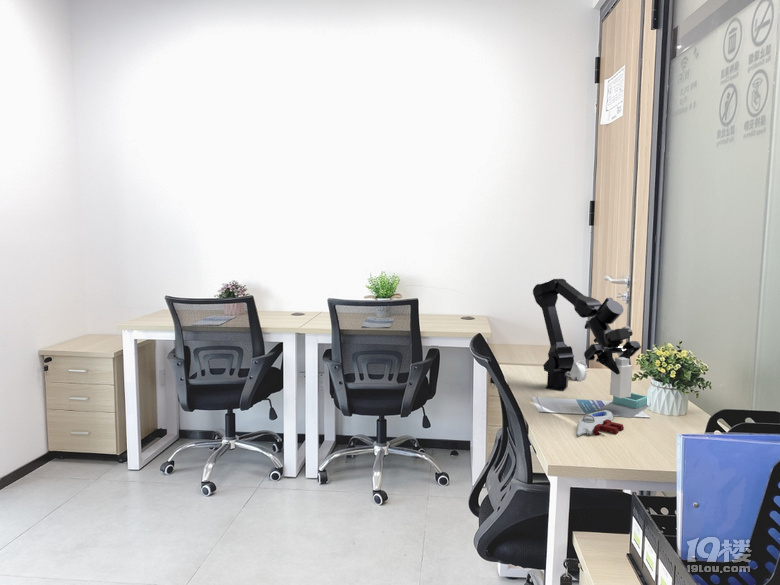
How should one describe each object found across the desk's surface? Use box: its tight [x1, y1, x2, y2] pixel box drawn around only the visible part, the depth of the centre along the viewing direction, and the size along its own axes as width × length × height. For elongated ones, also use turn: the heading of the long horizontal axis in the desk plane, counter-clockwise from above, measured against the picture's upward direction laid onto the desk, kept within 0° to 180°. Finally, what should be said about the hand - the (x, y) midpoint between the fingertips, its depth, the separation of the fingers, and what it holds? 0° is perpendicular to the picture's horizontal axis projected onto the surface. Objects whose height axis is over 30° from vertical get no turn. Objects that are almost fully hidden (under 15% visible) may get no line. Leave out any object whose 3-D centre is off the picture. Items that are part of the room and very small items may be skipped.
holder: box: [612, 392, 647, 409], centre depth 206 cm, size 8×8×2 cm
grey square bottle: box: [609, 356, 633, 398], centre depth 197 cm, size 4×4×12 cm
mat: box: [595, 400, 650, 419], centre depth 202 cm, size 21×11×1 cm, turn 139°
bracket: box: [592, 419, 625, 437], centre depth 180 cm, size 3×6×10 cm
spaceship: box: [576, 410, 614, 437], centre depth 185 cm, size 23×7×4 cm, turn 139°
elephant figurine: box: [567, 359, 589, 382], centre depth 241 cm, size 8×10×7 cm
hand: (624, 373), depth 196 cm, fingers closed on grey square bottle, 4 cm apart
